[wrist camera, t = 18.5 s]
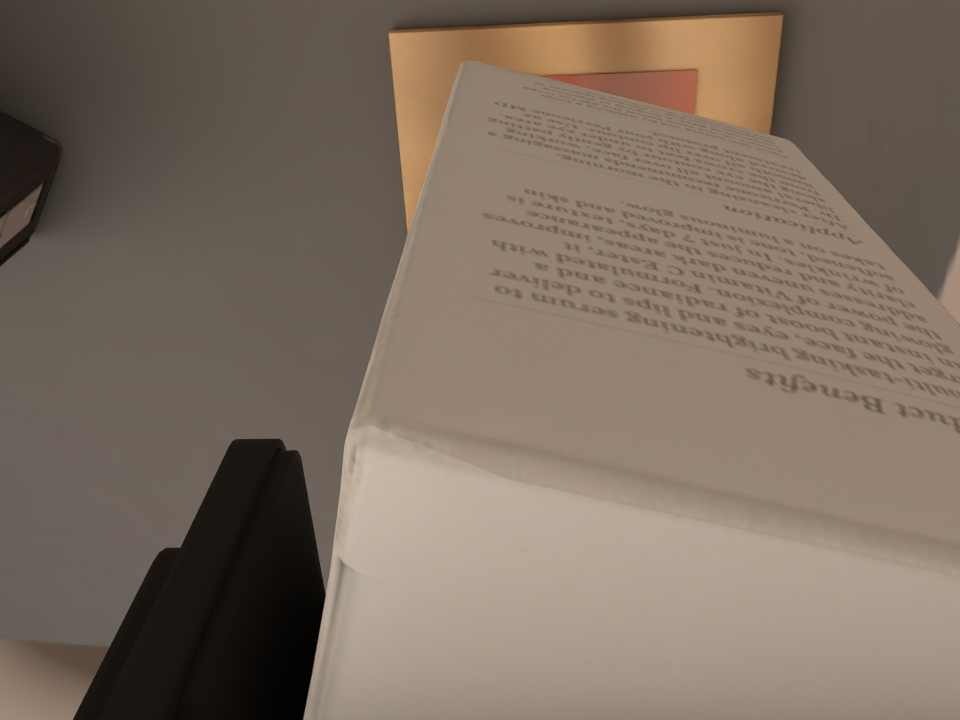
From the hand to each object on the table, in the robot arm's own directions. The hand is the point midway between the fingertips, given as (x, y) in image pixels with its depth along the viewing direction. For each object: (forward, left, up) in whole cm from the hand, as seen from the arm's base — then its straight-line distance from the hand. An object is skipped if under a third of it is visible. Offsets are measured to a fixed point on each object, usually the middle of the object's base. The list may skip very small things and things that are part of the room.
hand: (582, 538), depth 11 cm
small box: (0, 0, -6) cm, 6 cm away
